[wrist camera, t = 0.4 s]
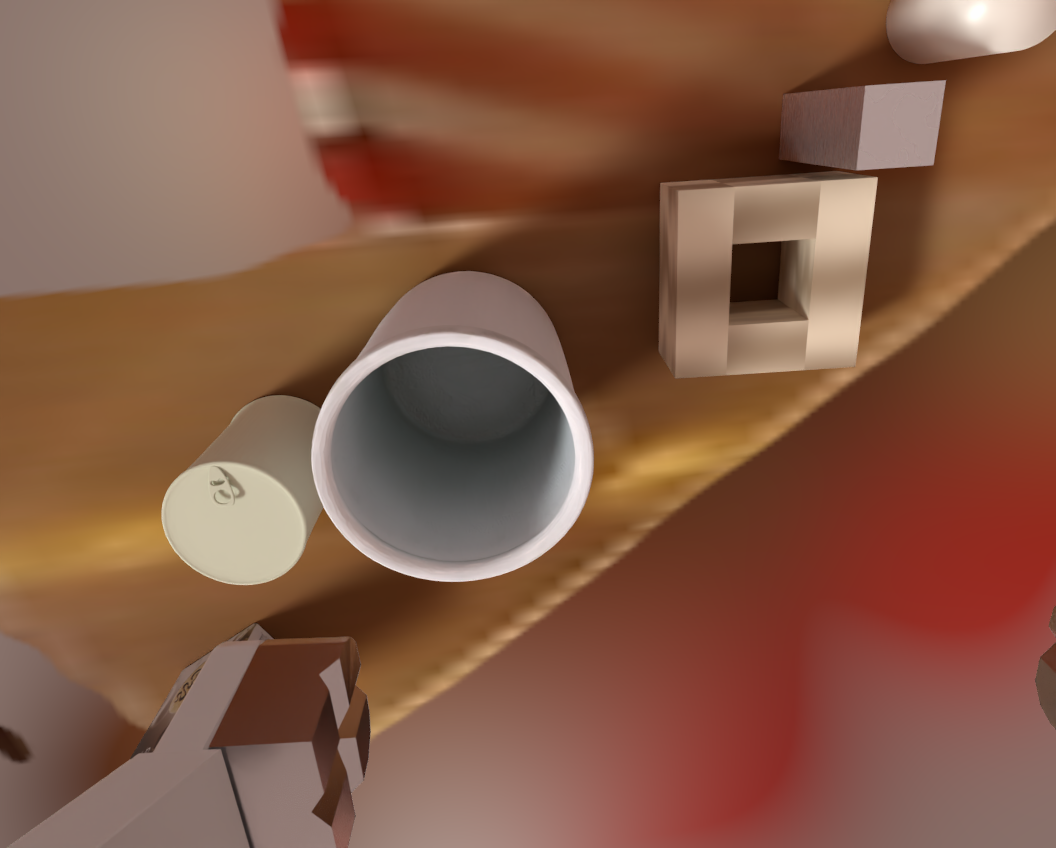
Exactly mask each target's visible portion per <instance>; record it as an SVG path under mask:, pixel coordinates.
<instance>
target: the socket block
mask: <svg viewBox="0 0 1056 848" xmlns="http://www.w3.org/2000/svg"><path fill="white" fill-rule="evenodd" d="M877 181H878V177H873V176H867V175H860V174H854V173H847V172H841V171H828V172H813V173H799V174H784V175H769V176H755V177H740V178H725V179H711V180H696V181H681V182H666V183H660V264H659V353H660V355H661V356H662V358H663V359H664V361H665V363H666V364H667V366H668V367H669V369H670V371H671V372H672V374H673V376H674V377H675V378H690V377H706V376H721V375H736V374H752V373H767V372H782V371H798V370H813V369H828V368H844V367H855V365H856V357H857V349H858V340H859V332H860V323H861V315H862V307H863V298H864V290H865V281H866V273H867V265H868V256H869V248H870V239H871V231H872V223H873V214H874V206H875V197H876V189H877ZM773 241H782V246H781V260H780V274H779V288H778V299H774V300H759V301H744V302H730V282H731V261H732V244H743V243H758V242H773Z"/></svg>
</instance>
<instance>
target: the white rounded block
mask: <svg viewBox="0 0 1056 848" xmlns="http://www.w3.org/2000/svg"><path fill="white" fill-rule="evenodd" d="M1055 30H1056V0H891V2H890V4H889V7H888V11H887V17H886V31H887V37H888V40H889V43H890V45H891V47H892V48H893V50H894V51H895V52H896V53H897V54H898V55H899V56H900V57H901V58H902V59H904V60H906V61H908V62H911V63H915V64H928V63H935V62H942V61H950V60H957V59H964V58H971V57H978V56H985V55H992V54H999V53H1006V52H1013V51H1020V50H1024V49H1027V48H1030V47H1032V46H1034V45H1036V44H1038V43H1040V42H1041V41H1043V40H1044V39H1046V38H1047V37H1048V36H1049V35H1051V34H1052V33H1053V32H1054V31H1055Z"/></svg>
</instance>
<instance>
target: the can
mask: <svg viewBox="0 0 1056 848" xmlns="http://www.w3.org/2000/svg"><path fill="white" fill-rule="evenodd" d="M320 410H321V409H320V408H319V407H318V406H316V405H314V404H312V403H311V402H308V401H306V400H303V399H300V398H297V397H293V396H286V395H273V396H266V397H263V398H259V399H257V400H254V401H252V402H251V403H249V404H247V405H246V406H244V407H243V408H242V409H241V410H240V411H239V412H238V413H237V414H236V415H235V417H234V418H233V420H232V422H231V424H230V425H229V426H228V427H227V428H226V429H225V430H224V432H223V433H222V434H221V435H220V436H219V437H218V438H217V439H216V440H215V441H214V442H213V443H212V444H211V445H210V446H209V447H208V449H207V450H206V451H205V452H204V453H203V454H202V455H201V456H200V457H199V458H198V459H197V460H196V461H195V462H194V463H193V464H192V465H191V466H190V467H189V468H188V469H187V470H186V471H185V472H183V473H182V474H181V475H179V476H178V477H177V478H176V479H175V480H174V482H173V483H172V484H171V486H170V487H169V489H168V491H167V493H166V495H165V497H164V501H163V505H162V523H163V528H164V531H165V534H166V537H167V539H168V541H169V543H170V544H171V546H172V548H173V549H174V551H175V552H176V553H177V554H178V555H179V556H180V558H181V559H182V560H183V561H184V562H186V563H187V564H188V565H189V566H190V567H192V568H193V569H195V570H196V571H198V572H199V573H201V574H203V575H205V576H207V577H209V578H212V579H214V580H217V581H220V582H224V583H229V584H235V585H254V584H260V583H265V582H268V581H271V580H274V579H276V578H278V577H280V576H281V575H283V574H285V573H286V572H287V571H289V570H290V569H291V568H292V567H293V566H294V565H295V564H296V563H297V561H298V560H299V559H300V557H301V555H302V553H303V551H304V549H305V546H306V542H307V540H308V538H309V536H310V534H311V531H312V529H313V527H314V525H315V523H316V521H317V519H318V517H319V515H320V513H321V511H322V509H323V504H322V502H321V500H320V498H319V495H318V492H317V489H316V485H315V482H314V477H313V472H312V462H311V449H312V440H313V434H314V429H315V425H316V421H317V418H318V415H319V413H320Z"/></svg>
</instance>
